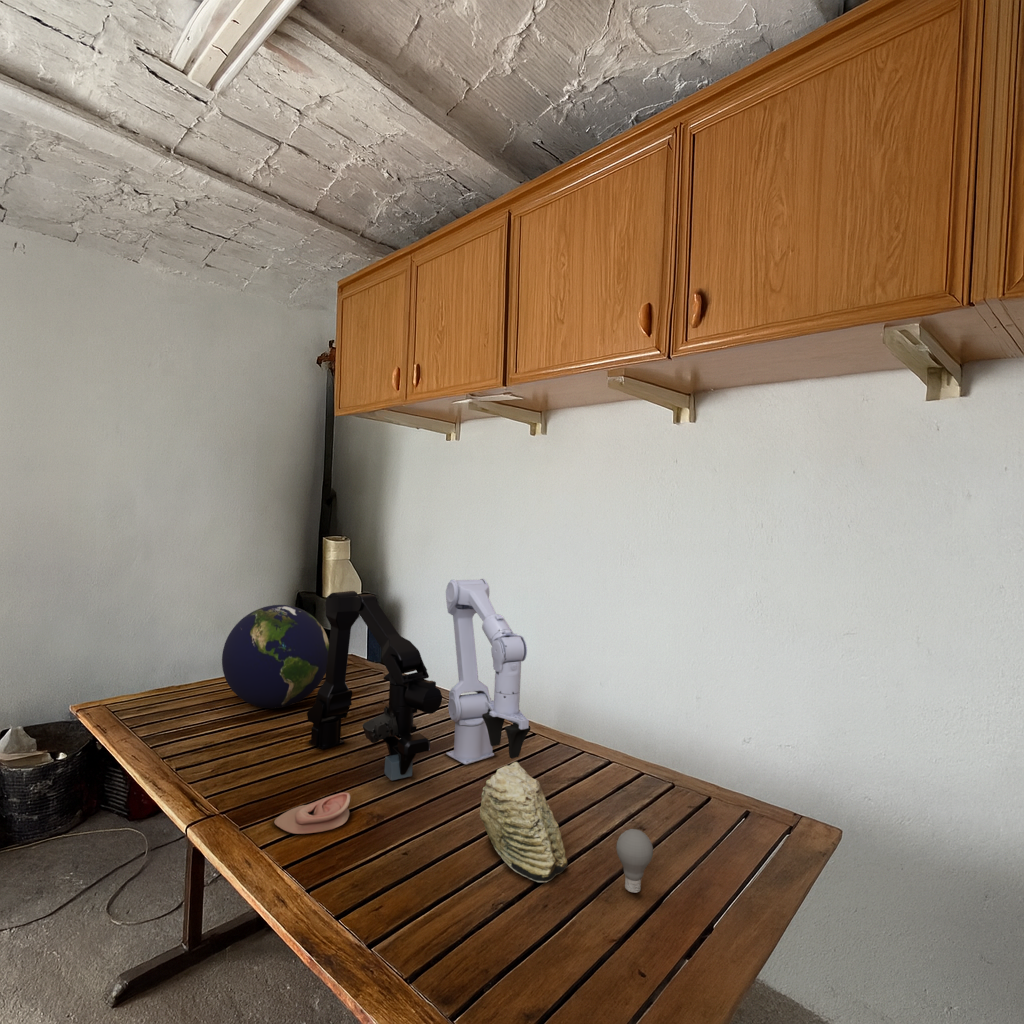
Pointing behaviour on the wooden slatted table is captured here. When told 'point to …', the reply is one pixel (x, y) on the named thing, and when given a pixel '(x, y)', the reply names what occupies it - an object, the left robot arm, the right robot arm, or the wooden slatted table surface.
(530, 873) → the fossil
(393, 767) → the brick
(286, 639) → the globe
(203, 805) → the wooden slatted table surface
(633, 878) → the light bulb
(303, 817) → the anatomical model
